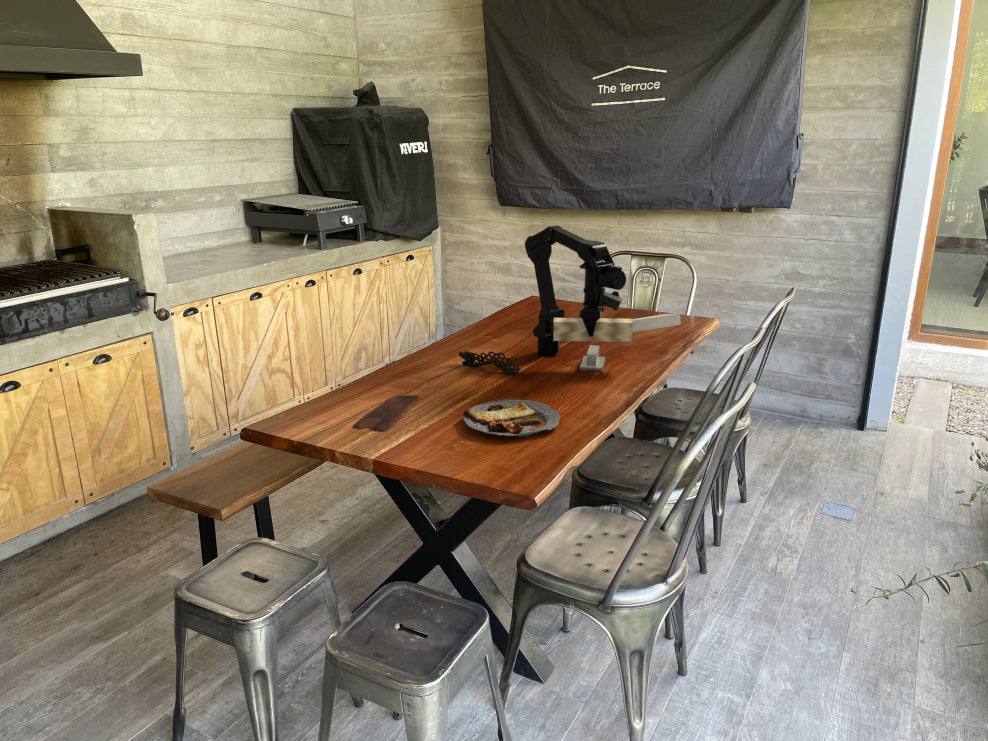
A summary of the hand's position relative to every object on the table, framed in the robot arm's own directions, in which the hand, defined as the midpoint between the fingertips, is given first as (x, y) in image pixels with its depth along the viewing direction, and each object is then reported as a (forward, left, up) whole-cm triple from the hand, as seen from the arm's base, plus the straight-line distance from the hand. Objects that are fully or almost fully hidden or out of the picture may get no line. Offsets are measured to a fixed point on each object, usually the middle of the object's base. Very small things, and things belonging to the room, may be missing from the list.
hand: (592, 334), depth 233 cm
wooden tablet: (-49, -48, -12) cm, 70 cm away
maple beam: (0, 0, -2) cm, 2 cm away
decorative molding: (+11, +51, -12) cm, 53 cm away
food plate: (-16, -50, -11) cm, 53 cm away
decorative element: (-32, -7, -11) cm, 34 cm away
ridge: (0, +2, -11) cm, 11 cm away
